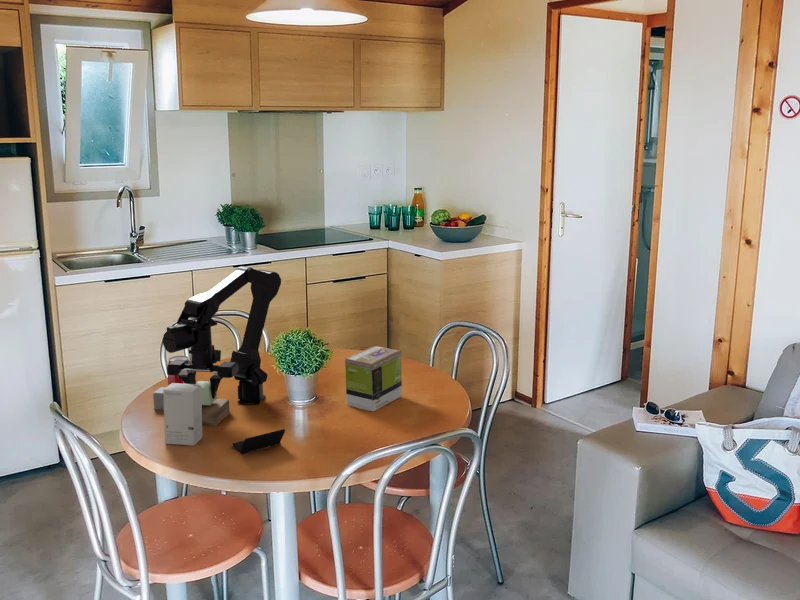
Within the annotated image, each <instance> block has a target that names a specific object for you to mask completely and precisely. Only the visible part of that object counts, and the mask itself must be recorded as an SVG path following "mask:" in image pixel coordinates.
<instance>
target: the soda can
mask: <svg viewBox="0 0 800 600" xmlns="http://www.w3.org/2000/svg"><path fill="white" fill-rule="evenodd" d="M175 359H178V360H187V361H188V362H189V364H191V363H192V362H191V360H190V358H189V356H187V355H176V356H172V357H170V358H168V362H167V365H166V367H167V366H168V364H170V363H171V362H173V361H174V360H175ZM166 374H167V373H166ZM179 375H180V374H178V375H168V374H167V386H169V385H170V384H171V383H181V384H185V383H184V381H183V380H182V379H181V378H178V376H179Z"/></svg>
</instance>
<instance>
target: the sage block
mask: <svg viewBox="0 0 800 600" xmlns="http://www.w3.org/2000/svg"><path fill="white" fill-rule="evenodd" d="M194 385H201V400H202V405H211V404H212V403H213V402H214V401H215V400H216V399H218V397H217V394H218V393H216V396H215V398H214V399H212V395H211V384H210V380H209V381H207V380H206V381H205V380H198V381H196V384H194Z"/></svg>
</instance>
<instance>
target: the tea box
mask: <svg viewBox="0 0 800 600" xmlns="http://www.w3.org/2000/svg"><path fill="white" fill-rule="evenodd" d="M344 367H345V368H344V369H345V390H346V391H345V392H346V405H347V406H350V407H354V408H357V409H360V410H363V411H370V412H375V411H377V410H379V409H381V408H382V407H384V406H385V405H389V404H390V403H391V402H393V401H395V400H397V399H399V398H401V397H402V396H403V385H402V384H403V383H402V380H403V379H402V352H401V350H399V349H395V348H394V349H393V348H387V347H383V346H378V345H373V346H371V347H369V348H366V349H364V350H362V351H359V352H357V353H355V354H353V355H350V356H348V357H346V358H345V359H344Z"/></svg>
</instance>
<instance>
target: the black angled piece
mask: <svg viewBox="0 0 800 600" xmlns="http://www.w3.org/2000/svg"><path fill="white" fill-rule="evenodd" d="M285 433H286V429H285V428H282V429H278V430H275V431H270V432H265V433H262V434H259V435H258V434H257V435H254V436H250V437H247V438H244V440H240V441H236V442H233V443H231V446H232V448H233V449H235V450H236V451H237V452H238V453H239V454H240V455H244V454H248V453H251V452H255V451H259V450H262V449H267V448H269V447H276V446H279V445H281V443H282V442H281V441H282V439H283V437H284V435H285Z"/></svg>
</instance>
